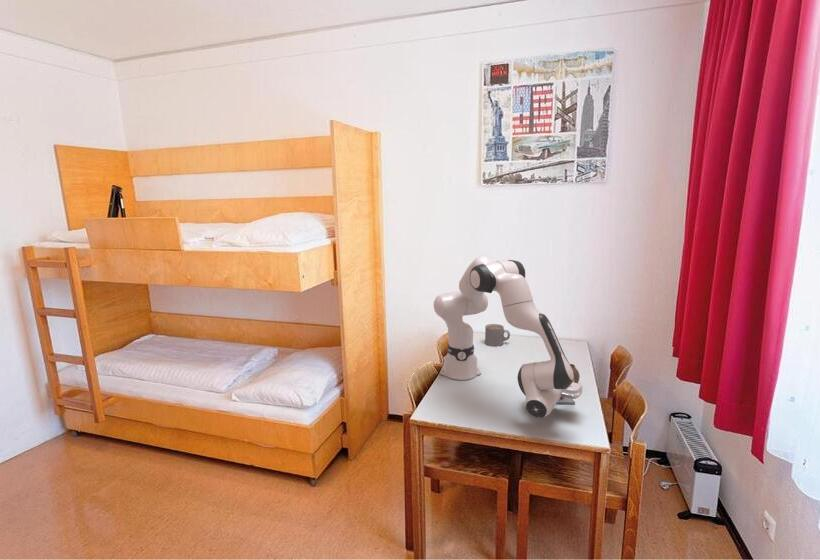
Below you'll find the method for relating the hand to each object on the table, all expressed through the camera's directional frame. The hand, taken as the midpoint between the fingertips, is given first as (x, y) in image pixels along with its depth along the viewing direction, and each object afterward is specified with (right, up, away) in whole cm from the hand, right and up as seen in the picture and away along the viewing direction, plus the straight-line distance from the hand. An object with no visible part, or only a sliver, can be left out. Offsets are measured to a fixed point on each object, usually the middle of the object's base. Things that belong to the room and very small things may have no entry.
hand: (557, 378), depth 169 cm
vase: (+12, -7, +18) cm, 22 cm away
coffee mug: (-10, +3, +70) cm, 71 cm away
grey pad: (+1, -9, +4) cm, 10 cm away
